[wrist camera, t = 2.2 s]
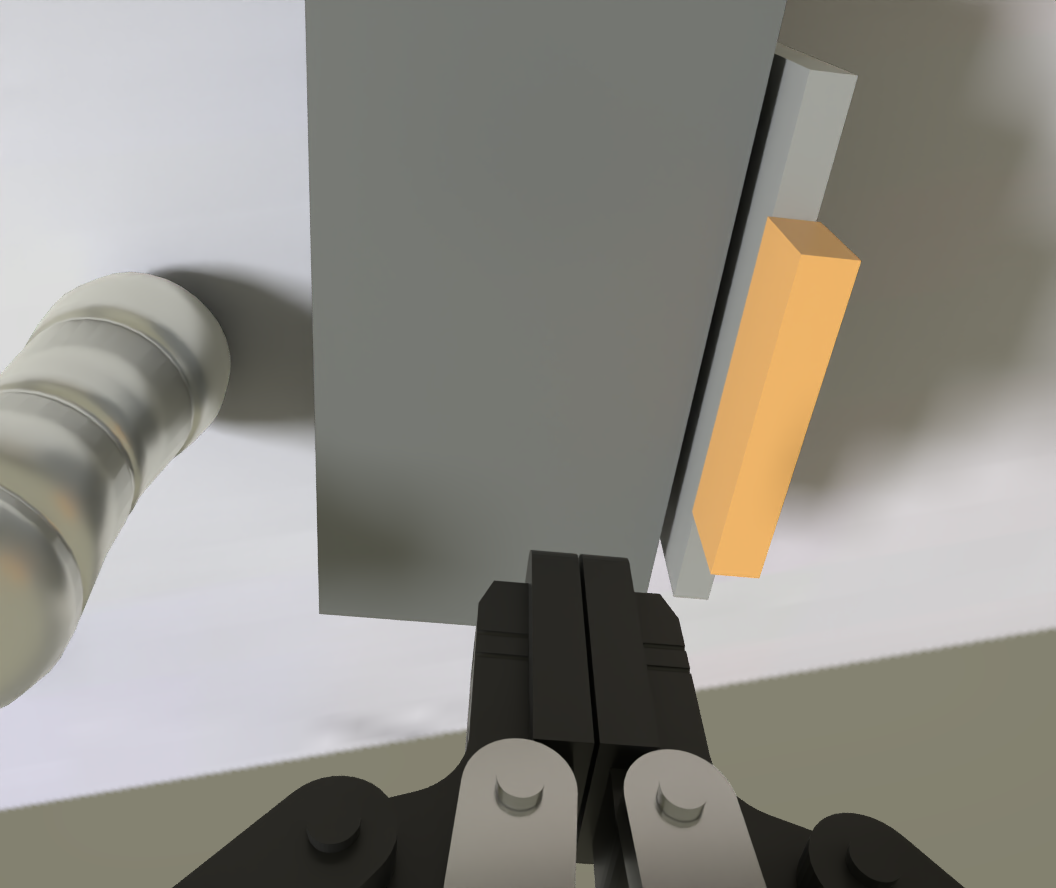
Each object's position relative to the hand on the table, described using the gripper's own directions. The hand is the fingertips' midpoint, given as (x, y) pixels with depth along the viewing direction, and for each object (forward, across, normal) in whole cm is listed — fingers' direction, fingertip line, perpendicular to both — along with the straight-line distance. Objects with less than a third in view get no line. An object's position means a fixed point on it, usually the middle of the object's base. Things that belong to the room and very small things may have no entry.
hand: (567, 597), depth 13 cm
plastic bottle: (+20, +14, +6) cm, 25 cm away
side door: (+19, -5, 0) cm, 20 cm away
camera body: (+20, +1, -1) cm, 20 cm away
